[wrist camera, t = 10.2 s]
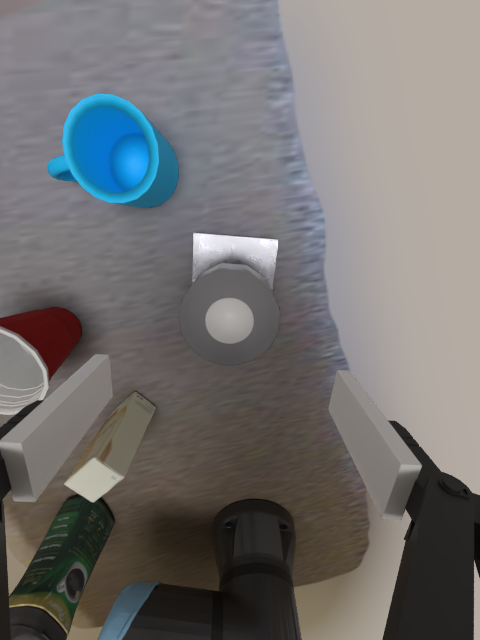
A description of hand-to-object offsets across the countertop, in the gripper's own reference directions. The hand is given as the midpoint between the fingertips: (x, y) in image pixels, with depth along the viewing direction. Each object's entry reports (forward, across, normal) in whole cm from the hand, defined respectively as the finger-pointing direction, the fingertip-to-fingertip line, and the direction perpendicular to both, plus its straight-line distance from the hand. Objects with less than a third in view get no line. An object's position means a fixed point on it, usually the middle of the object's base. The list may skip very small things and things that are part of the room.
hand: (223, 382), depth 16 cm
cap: (+14, 0, 0) cm, 14 cm away
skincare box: (+22, +14, +20) cm, 32 cm away
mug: (+21, +13, -14) cm, 28 cm away
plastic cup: (+22, +23, +6) cm, 32 cm away
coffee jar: (+22, +23, +42) cm, 53 cm away
